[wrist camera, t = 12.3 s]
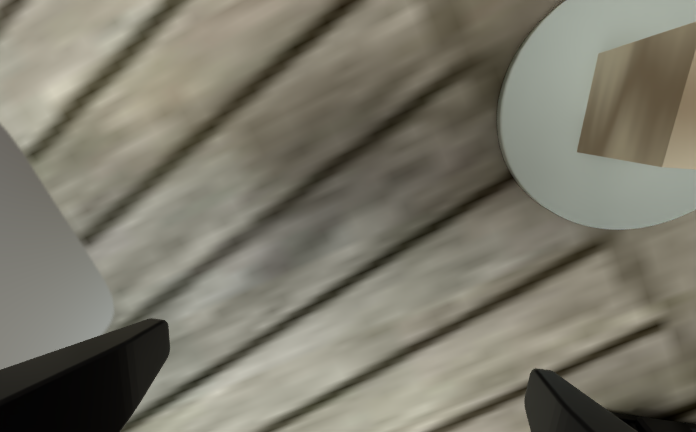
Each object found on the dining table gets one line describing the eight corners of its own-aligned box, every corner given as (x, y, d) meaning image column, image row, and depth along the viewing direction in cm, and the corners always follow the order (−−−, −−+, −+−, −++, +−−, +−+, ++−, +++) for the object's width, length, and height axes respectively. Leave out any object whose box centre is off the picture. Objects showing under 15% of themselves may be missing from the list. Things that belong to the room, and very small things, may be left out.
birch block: (675, 158, 17) (813, 177, 12) (576, 152, 18) (661, 167, 12) (705, 57, 16) (874, 23, 11) (598, 53, 17) (704, 19, 11)
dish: (713, 233, 19) (734, 240, 18) (480, 212, 20) (485, 218, 19) (802, -25, 16) (833, -36, 15) (519, -31, 17) (528, -42, 16)
